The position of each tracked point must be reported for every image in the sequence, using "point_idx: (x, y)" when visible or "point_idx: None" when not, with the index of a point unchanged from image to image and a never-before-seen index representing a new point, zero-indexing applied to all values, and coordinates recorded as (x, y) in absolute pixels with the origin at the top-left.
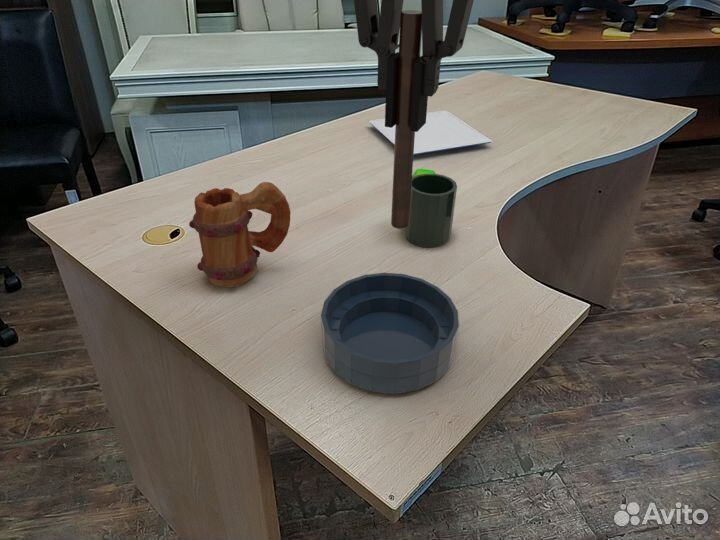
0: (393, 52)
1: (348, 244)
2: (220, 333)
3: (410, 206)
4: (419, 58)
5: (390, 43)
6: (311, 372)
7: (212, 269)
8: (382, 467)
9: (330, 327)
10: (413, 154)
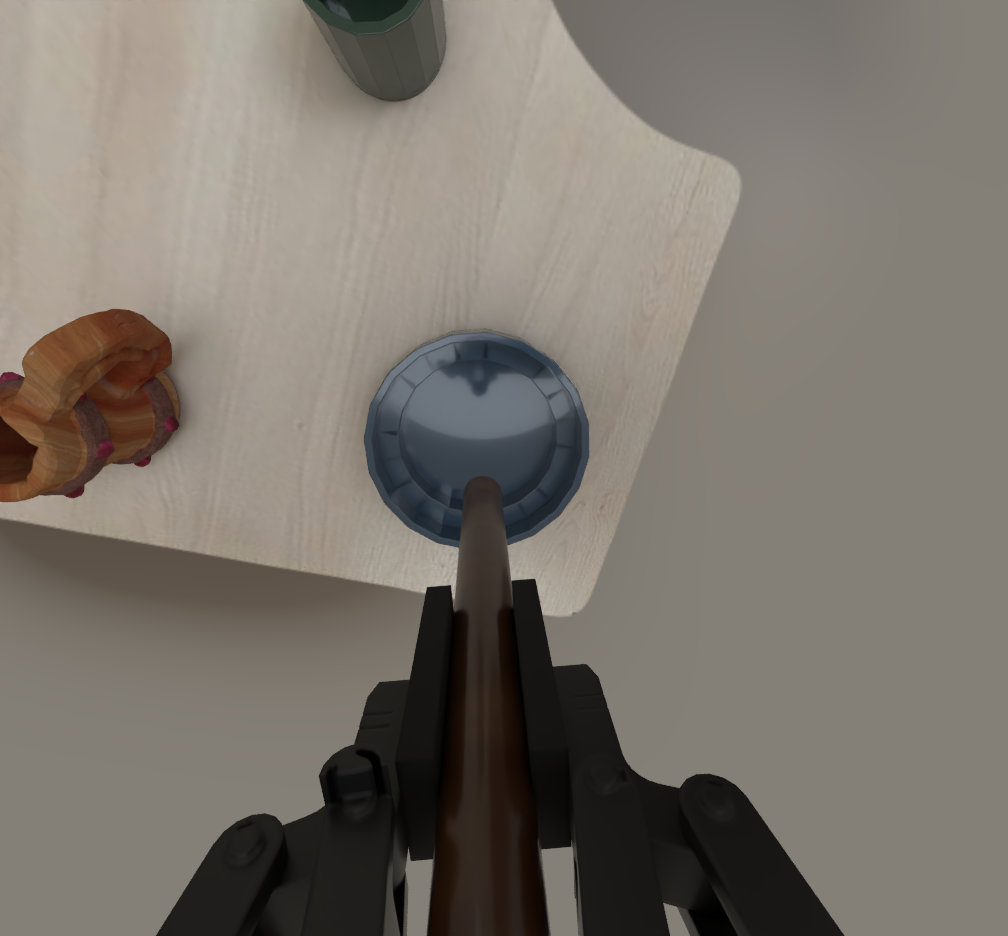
0: (402, 816)
1: (252, 178)
2: (244, 521)
3: (337, 46)
4: (536, 802)
5: (405, 910)
6: None
7: (124, 462)
8: (553, 592)
9: (397, 480)
10: None
